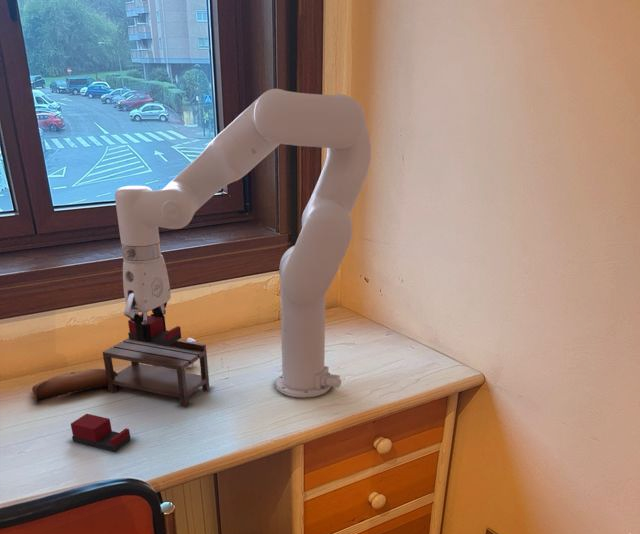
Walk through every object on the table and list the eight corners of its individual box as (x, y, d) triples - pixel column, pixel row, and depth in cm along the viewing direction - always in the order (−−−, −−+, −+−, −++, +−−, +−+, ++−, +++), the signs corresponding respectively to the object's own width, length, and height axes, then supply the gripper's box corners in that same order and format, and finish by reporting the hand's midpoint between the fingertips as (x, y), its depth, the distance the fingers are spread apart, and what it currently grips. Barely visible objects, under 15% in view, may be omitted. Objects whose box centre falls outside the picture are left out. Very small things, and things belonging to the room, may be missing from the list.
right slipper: (181, 338, 138) (179, 320, 136) (168, 345, 134) (166, 327, 132) (142, 331, 141) (140, 313, 139) (129, 338, 137) (126, 320, 135)
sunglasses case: (110, 370, 151) (111, 353, 146) (120, 395, 148) (121, 378, 143) (29, 387, 143) (27, 369, 137) (38, 413, 140) (36, 396, 135)
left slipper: (131, 440, 124) (128, 422, 122) (115, 452, 120) (112, 433, 118) (89, 430, 128) (86, 412, 126) (72, 441, 124) (69, 423, 122)
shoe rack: (209, 388, 145) (205, 344, 140) (185, 407, 137) (180, 361, 131) (136, 374, 151) (130, 331, 146) (109, 391, 143) (101, 346, 138)
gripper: (131, 263, 121) (142, 353, 130) (180, 244, 135) (188, 326, 143) (98, 259, 123) (112, 347, 132) (151, 241, 137) (160, 322, 146)
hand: (151, 335), depth 138 cm, fingers closed on right slipper, 4 cm apart
